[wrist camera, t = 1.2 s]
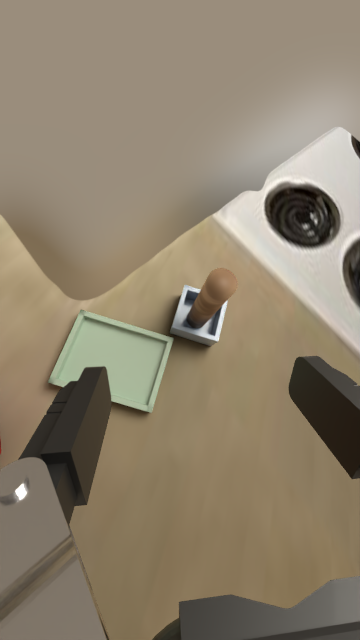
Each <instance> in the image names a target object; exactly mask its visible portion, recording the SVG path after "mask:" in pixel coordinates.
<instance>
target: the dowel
mask: <svg viewBox="0 0 360 640" xmlns="http://www.w3.org/2000/svg"><path fill="white" fill-rule="evenodd" d="M237 286H238V282H237V279H236V277H235V275H234V274H233V273H232V272H231V271H229V270H227V269H224V268H218V269H215V270H213V271H212V272H211V273H210V274H209V276H208V278H207V279H206V281H205V283H204V285H203V287H202V289H201V291H200V292H199V294H198V296H197V298H196V300H195V302H194V303H193V305H192V307H191V309H190V311H189V313H188V315H187V322H188V324H189V325H190V326H191V327H193V328H201V327H203V326H204V325H205V324H206V323H207V322H208V320H209V319H210V318H211V317H212V316H213V315H214V314H215V313H216V312H217V311H218V310H219V309H220V307H221V306H222V305H223V304H224V303H225V302H226V301H227V300H228V299H229V298H230V297H231V296H232V295H233V293H234V292H235V291H236V289H237Z"/></svg>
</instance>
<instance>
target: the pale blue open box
mask: <svg viewBox="0 0 360 640" xmlns="http://www.w3.org/2000/svg"><path fill="white" fill-rule="evenodd" d="M200 291H201V290H200V289H196V288H193V287H190V286H187V285H185V286H184V289H183V291H182V294H181V297H180V301H179V304H178V307H177V310H176V314H175V317H174V320H173V323H172V327H171V330H170V334H173V335H176V336H180V337H183V338H186V339H189V340H192V341H196V342H199V343H202V344H205V345H209V346H212V345H214V344H215V343H217V342H218V340H219V336H220V332H221V327H222V323H223V319H224V314H225V310H226V306H227V302H228V300H227V301H226V302H225V303H224V304H223V305H222V306H221V307H220V309H219V310H218V311H217V312H216V313H215V314H214V315H213V316H212V317H211V318H210V319H209V320H208V322H207V323H206V324H205V325H204V326H203V327H201V328H193V327H191V326H190V325H189V324H188V322H187V315H188V313H189V311H190V309H191V307H192V305H193V303H194V302H195V300H196V298H197V296H198V294H199V292H200Z"/></svg>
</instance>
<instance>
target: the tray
mask: <svg viewBox="0 0 360 640" xmlns="http://www.w3.org/2000/svg"><path fill="white" fill-rule="evenodd" d="M173 339H174V338H171V337H168V336H165V335H162V334H159V333H155V332H152V331H149V330H146V329H142V328H139V327H136V326H133V325H129V324H126V323H123V322H120V321H116V320H113V319H110V318H107V317H103V316H100V315H97V314H94V313H90V312H87V311H84V310H80V313H79V315H78V317H77V319H76V321H75V324H74V326H73V328H72V330H71V332H70V335H69V337H68V339H67V341H66V343H65V346H64V348H63V350H62V352H61V354H60V357H59V359H58V361H57V363H56V365H55V367H54V370H53V372H52V374H51V376H50V378H49V381H48V383H51V384H55V385H58V386H61V387H64V386H65V385H67V384H68V383H69V382H70V381H78V379H79V378H80V376H81V374H82V372H83V370H84V368H85V367H100V366H105V367H106V369H107V374H108V380H109V386H110V392H111V401H113V402H116V403H120V404H123V405H126V406H130V407H133V408H137V409H140V410H144V411H147V412H150V413H152V409H153V406H154V403H155V399H156V396H157V393H158V389H159V386H160V383H161V379H162V376H163V373H164V369H165V366H166V362H167V359H168V356H169V352H170V349H171V346H172V342H173Z"/></svg>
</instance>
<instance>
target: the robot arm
mask: <svg viewBox="0 0 360 640" xmlns="http://www.w3.org/2000/svg"><path fill="white" fill-rule="evenodd" d="M289 394H290V397H291V399H292V400H293V402H294V403H295V404H296V406H297V407H298V408H299V410H300V411H301V412H302V414H303V415H304V416H305V418H306V419H307V420H308V422H309V423H310V424H311V426H312V427H313V428H314V429H315V431H316V432H317V433H318V435H319V436H320V437H321V439H322V440H323V441H324V443H325V444H326V445H327V447H328V448H329V449H330V451H331V452H332V453H333V455H334V456H335V457H336V459H337V460H338V461H339V462H340V464H341V465H342V466H343V468H344V469H345V470H346V472H347V473H348V474H349V476H350V477H351V478H352V479H357V478H360V386H358V385H357V383H356V382H354V381H353V380H352V379H351V378H349V377H348V376H347V375H346V374H344V373H342V372H340V371H338V370H336V369H334V368H332V367H331V366H330V365H329V364H327V363H326V362H325V361H324V360H323V359H321V358H320V357H318V356H306V357H298V358H297V359H296V360H295V363H294V367H293V371H292V375H291V379H290V383H289ZM110 411H111V392H110V386H109V380H108V374H107V369H106V367H105V366H100V367H85V368H84V370H83V372H82V374H81V376H80V378H79V379H78V381H70V382H69V383H68V384H67V385H65V386H64V387H63V388H62V389H61V390H60V391H59V392H58V394H57V396H56V397H55V399H54V401H53V402H52V405H51V406H50V407H49V409H48V411H47V414H46V415H45V416H44V417H43V419H42V421H41V423H40V424H39V426H38V428H37V429H36V431H35V433H34V434H33V436H32V438H31V439H30V441H29V443H28V444H27V446H26V448H25V450H24V451H23V453H22V455H21V456H20V458H19V459H18V460H17V461H14V462H12V463H10V464H8V465H7V466H5V467H4V468H2V469H1V470H0V640H110V638H109V635H108V632H107V629H106V626H105V624H104V621H103V618H102V615H101V613H100V610H99V607H98V605H97V602H96V599H95V596H94V593H93V591H92V588H91V585H90V582H89V579H88V577H87V574H86V571H85V568H84V565H83V563H82V560H81V557H80V554H79V551H78V548H77V546H76V543H75V540H74V537H73V534H72V532H71V529H70V526H69V523H70V520H71V516H72V513H73V510H74V506H80V505H87V502H88V498H89V494H90V490H91V486H92V482H93V478H94V474H95V470H96V466H97V462H98V459H99V455H100V451H101V447H102V443H103V439H104V435H105V431H106V427H107V423H108V419H109V415H110ZM152 640H360V576H357V577H350V578H343V579H336V580H330V581H329V582H327V583H326V584H325V585H323V586H322V587H321V588H319V589H318V590H316V591H315V592H314V593H312V594H311V595H309V596H308V597H307V598H305V599H304V600H302V601H301V602H300V603H298V604H297V605H295V606H294V607H292V608H288V609H285V608H280V607H276V606H273V605H269V604H265V603H261V602H257V601H253V600H250V599H246V598H242V597H238V596H234V595H224V596H217V597H210V598H203V599H196V600H189V601H182V602H179V618H178V619H176V620H175V621H173V622H172V623H170V624H169V625H167V626H166V627H165V628H164V629H163V630H162V631H160V632H159V633H158V634H157V635H156V636H155V637H154V638H153V639H152Z"/></svg>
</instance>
